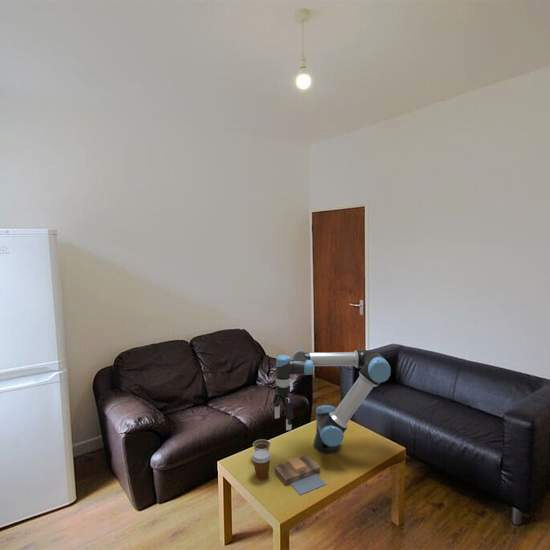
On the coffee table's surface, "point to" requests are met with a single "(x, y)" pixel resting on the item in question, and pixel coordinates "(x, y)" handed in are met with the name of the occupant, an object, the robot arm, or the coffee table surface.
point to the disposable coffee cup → (261, 463)
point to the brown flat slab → (291, 476)
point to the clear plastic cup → (261, 444)
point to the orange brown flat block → (296, 464)
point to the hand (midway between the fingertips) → (282, 423)
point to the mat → (308, 484)
